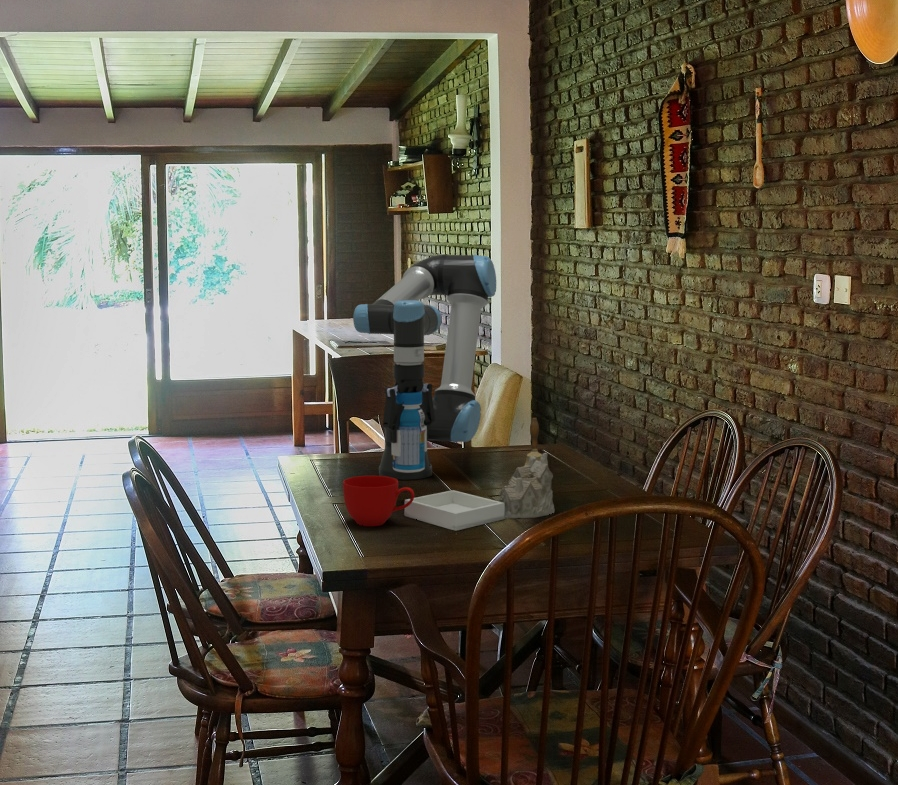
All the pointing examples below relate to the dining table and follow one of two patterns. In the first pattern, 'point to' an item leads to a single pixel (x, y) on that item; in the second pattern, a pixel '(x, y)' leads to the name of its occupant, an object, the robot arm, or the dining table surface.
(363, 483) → the ceramic cup
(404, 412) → the beverage bottle
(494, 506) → the tray
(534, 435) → the hand bell
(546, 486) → the ceramic cottage
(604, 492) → the dining table surface
